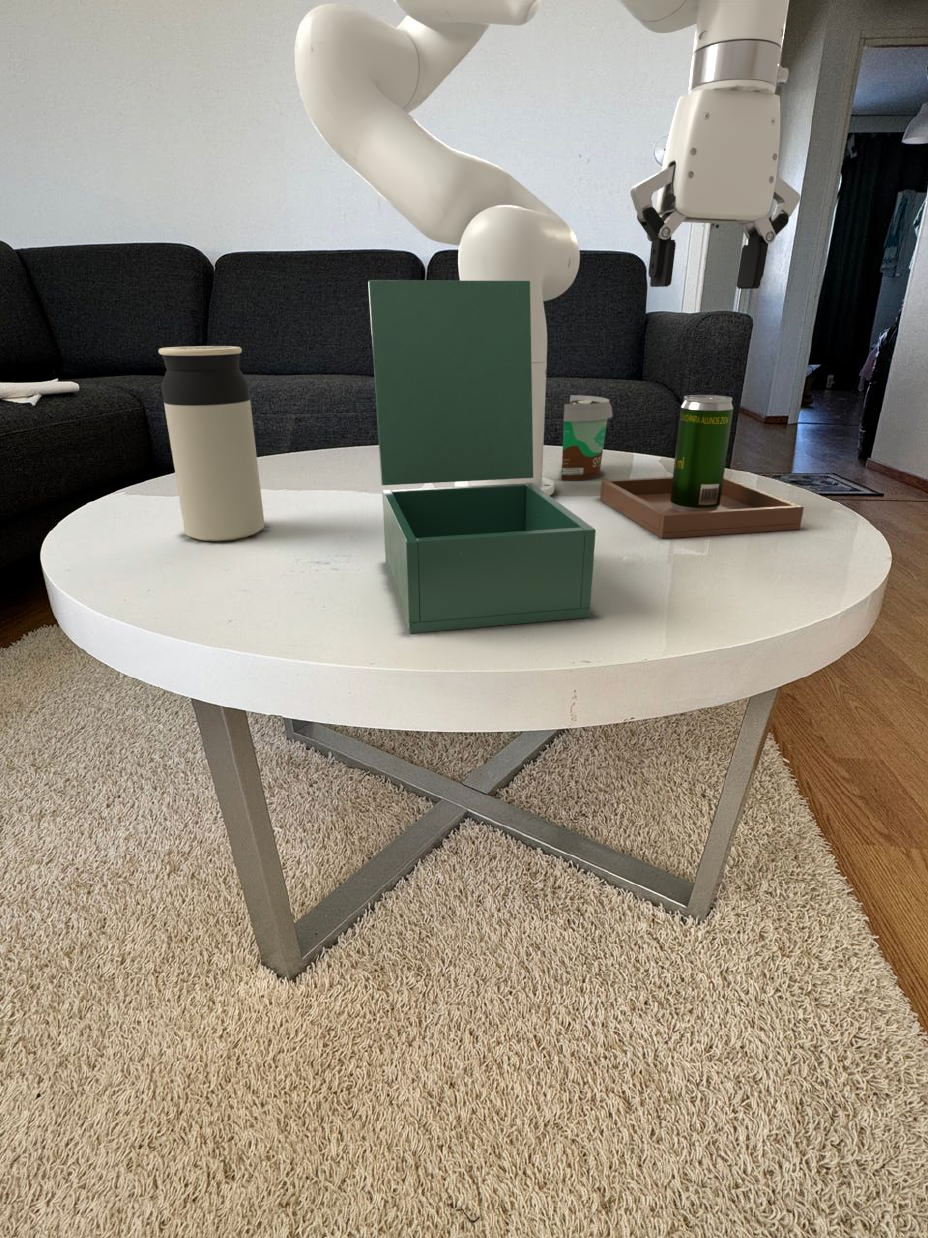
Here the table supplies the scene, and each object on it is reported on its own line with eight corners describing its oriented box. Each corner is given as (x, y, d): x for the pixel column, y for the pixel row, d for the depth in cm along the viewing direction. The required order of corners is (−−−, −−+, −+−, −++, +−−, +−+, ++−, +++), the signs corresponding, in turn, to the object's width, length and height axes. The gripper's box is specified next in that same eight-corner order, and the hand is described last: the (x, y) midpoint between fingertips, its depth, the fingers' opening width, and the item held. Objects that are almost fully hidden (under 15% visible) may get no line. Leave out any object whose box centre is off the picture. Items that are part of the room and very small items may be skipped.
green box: (589, 617, 54) (596, 529, 51) (409, 633, 51) (406, 541, 49) (529, 554, 68) (532, 482, 65) (385, 564, 65) (382, 490, 63)
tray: (599, 499, 87) (601, 480, 86) (717, 493, 90) (719, 474, 89) (661, 538, 72) (664, 515, 71) (800, 529, 75) (804, 506, 74)
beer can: (729, 511, 80) (746, 398, 75) (692, 516, 78) (706, 401, 73) (695, 500, 84) (709, 393, 79) (659, 505, 82) (671, 396, 77)
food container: (607, 484, 95) (613, 405, 91) (560, 482, 96) (564, 404, 92) (608, 466, 106) (614, 395, 102) (566, 464, 107) (570, 394, 103)
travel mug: (280, 526, 77) (261, 346, 70) (229, 546, 70) (202, 350, 63) (222, 518, 80) (198, 345, 73) (168, 536, 73) (136, 348, 66)
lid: (530, 280, 61) (514, 293, 66) (368, 279, 58) (364, 292, 63) (533, 477, 65) (518, 476, 69) (382, 485, 62) (377, 483, 67)
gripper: (790, 96, 70) (759, 289, 77) (626, 82, 66) (608, 286, 73) (844, 75, 63) (804, 288, 70) (664, 58, 60) (641, 285, 67)
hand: (704, 287), depth 72 cm, fingers open, 9 cm apart
